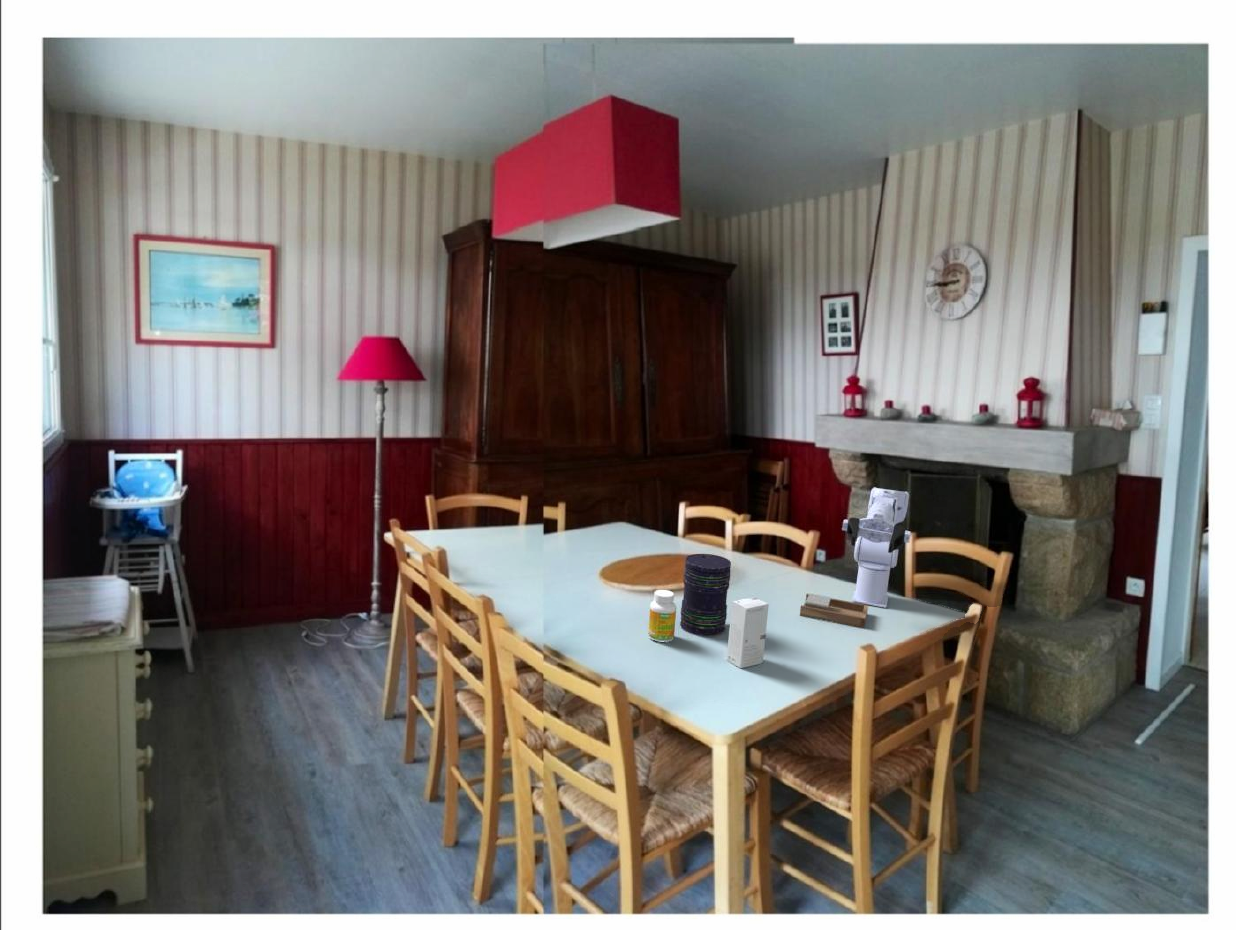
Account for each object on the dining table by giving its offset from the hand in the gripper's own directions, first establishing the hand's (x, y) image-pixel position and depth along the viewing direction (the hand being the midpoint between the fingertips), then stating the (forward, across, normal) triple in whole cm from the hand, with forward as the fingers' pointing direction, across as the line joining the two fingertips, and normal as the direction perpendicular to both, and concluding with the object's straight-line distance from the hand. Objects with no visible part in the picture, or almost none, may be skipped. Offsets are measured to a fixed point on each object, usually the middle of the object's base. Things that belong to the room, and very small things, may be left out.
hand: (871, 545), depth 157 cm
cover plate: (-2, -10, +20) cm, 22 cm away
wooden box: (-2, -6, +20) cm, 21 cm away
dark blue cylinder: (+22, -30, +17) cm, 41 cm away
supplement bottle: (+32, -36, +16) cm, 51 cm away
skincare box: (+33, -18, +15) cm, 41 cm away
